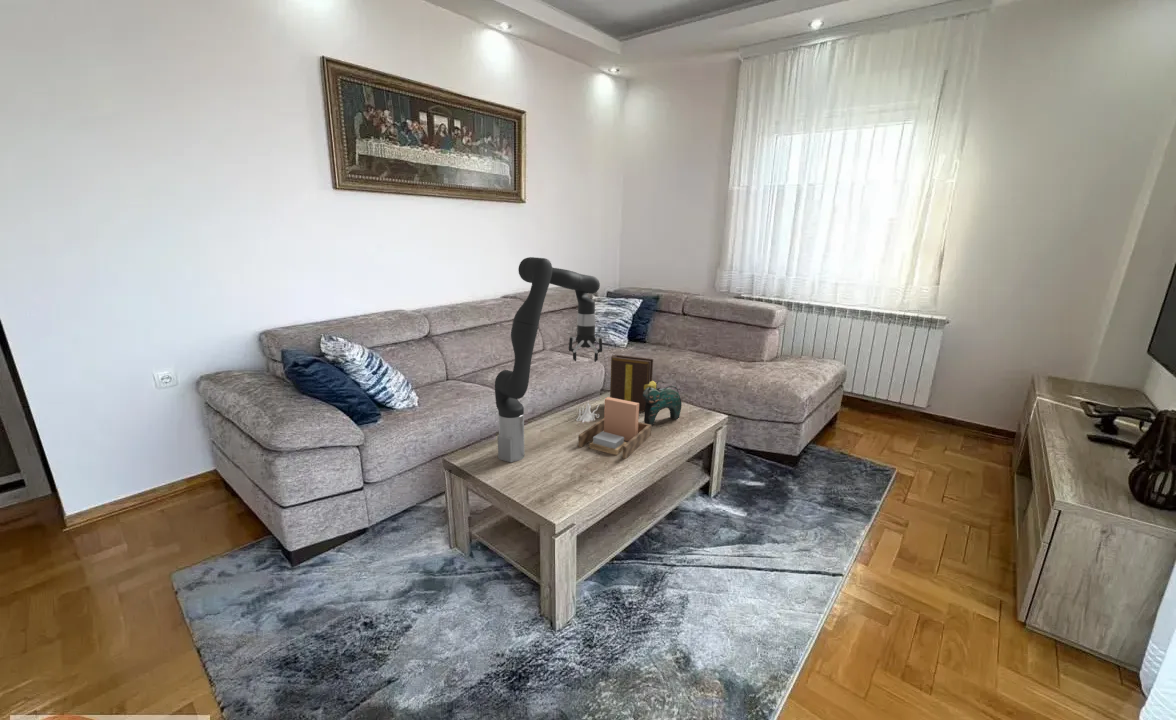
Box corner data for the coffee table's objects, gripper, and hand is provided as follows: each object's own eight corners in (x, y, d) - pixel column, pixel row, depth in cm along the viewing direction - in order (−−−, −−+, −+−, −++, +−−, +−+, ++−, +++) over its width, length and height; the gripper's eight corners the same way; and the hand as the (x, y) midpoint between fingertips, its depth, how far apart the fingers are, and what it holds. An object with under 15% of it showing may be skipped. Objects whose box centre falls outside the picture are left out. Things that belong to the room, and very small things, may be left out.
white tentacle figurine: (572, 421, 220) (572, 401, 218) (587, 413, 230) (587, 394, 227) (589, 425, 215) (589, 405, 213) (603, 417, 225) (603, 398, 223)
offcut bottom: (616, 456, 187) (617, 450, 187) (589, 449, 193) (589, 443, 192) (626, 448, 195) (627, 442, 194) (600, 441, 200) (600, 435, 200)
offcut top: (615, 449, 188) (615, 443, 187) (593, 443, 193) (593, 437, 192) (624, 442, 193) (624, 437, 193) (602, 437, 199) (602, 431, 198)
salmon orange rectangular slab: (634, 442, 198) (636, 405, 194) (603, 435, 205) (604, 399, 201) (637, 440, 201) (639, 403, 197) (606, 432, 208) (608, 397, 203)
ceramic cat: (646, 428, 213) (649, 384, 208) (638, 423, 218) (640, 380, 213) (682, 420, 222) (685, 378, 217) (673, 416, 228) (676, 374, 223)
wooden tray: (625, 459, 184) (625, 446, 182) (578, 446, 193) (578, 435, 192) (651, 435, 205) (651, 424, 204) (607, 426, 215) (607, 415, 213)
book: (607, 408, 237) (609, 357, 230) (613, 402, 244) (615, 353, 238) (652, 415, 229) (655, 363, 222) (656, 409, 236) (659, 358, 230)
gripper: (568, 324, 204) (568, 362, 208) (602, 325, 203) (601, 363, 207) (569, 321, 211) (569, 358, 215) (603, 322, 210) (602, 359, 214)
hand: (585, 361), depth 211 cm, fingers open, 8 cm apart
